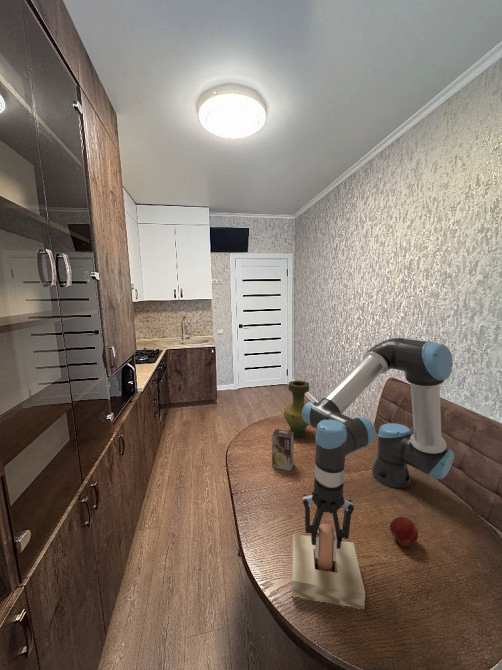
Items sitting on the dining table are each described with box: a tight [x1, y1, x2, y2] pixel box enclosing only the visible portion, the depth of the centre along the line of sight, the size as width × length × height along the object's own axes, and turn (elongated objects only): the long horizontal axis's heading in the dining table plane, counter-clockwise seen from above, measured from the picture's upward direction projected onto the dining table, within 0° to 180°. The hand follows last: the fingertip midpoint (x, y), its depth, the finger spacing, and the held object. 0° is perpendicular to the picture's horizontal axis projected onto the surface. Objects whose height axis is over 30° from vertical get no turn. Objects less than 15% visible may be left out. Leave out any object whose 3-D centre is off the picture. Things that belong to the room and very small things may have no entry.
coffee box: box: [271, 428, 295, 472], centre depth 124 cm, size 9×6×16 cm
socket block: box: [291, 533, 366, 609], centre depth 75 cm, size 18×14×5 cm
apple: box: [389, 516, 419, 547], centre depth 85 cm, size 7×8×8 cm
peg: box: [316, 523, 335, 572], centre depth 74 cm, size 4×4×13 cm
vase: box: [283, 380, 310, 439], centre depth 151 cm, size 16×16×30 cm
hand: (325, 554), depth 75 cm, fingers closed on peg, 4 cm apart
